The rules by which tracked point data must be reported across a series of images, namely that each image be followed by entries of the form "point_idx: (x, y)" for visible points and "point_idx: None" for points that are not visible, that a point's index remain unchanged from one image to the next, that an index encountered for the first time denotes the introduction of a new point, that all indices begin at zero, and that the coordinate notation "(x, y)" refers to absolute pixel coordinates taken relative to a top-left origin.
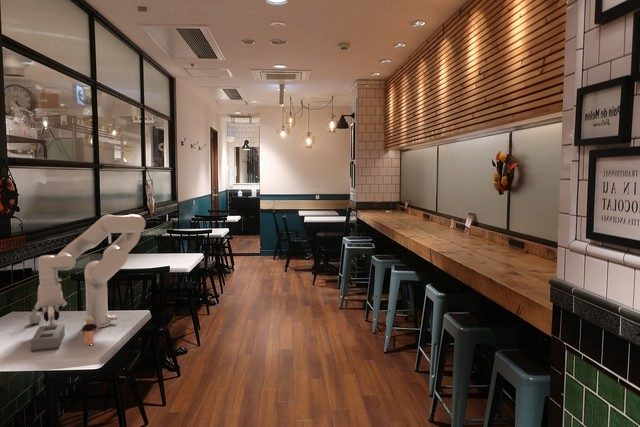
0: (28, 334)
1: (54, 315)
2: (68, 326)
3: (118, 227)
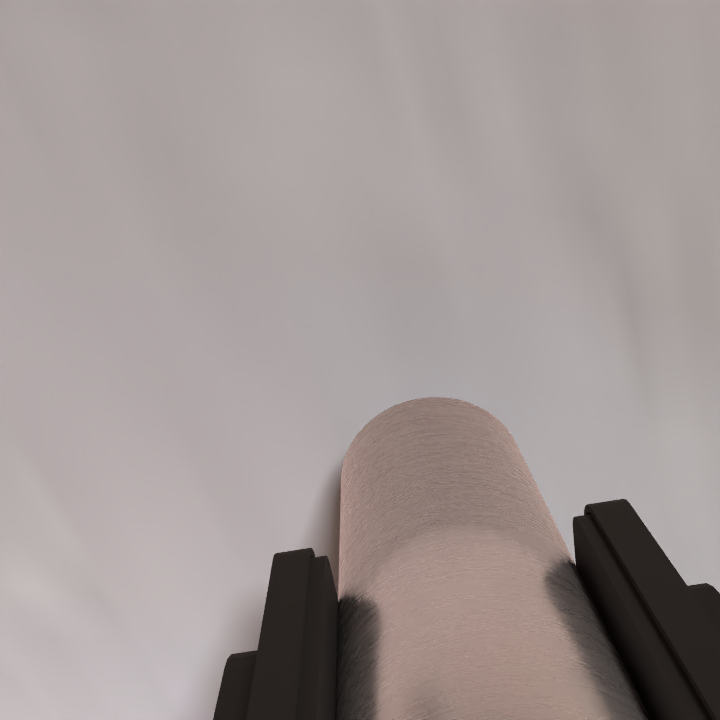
0: (5, 549)
1: None
2: (677, 79)
3: None
